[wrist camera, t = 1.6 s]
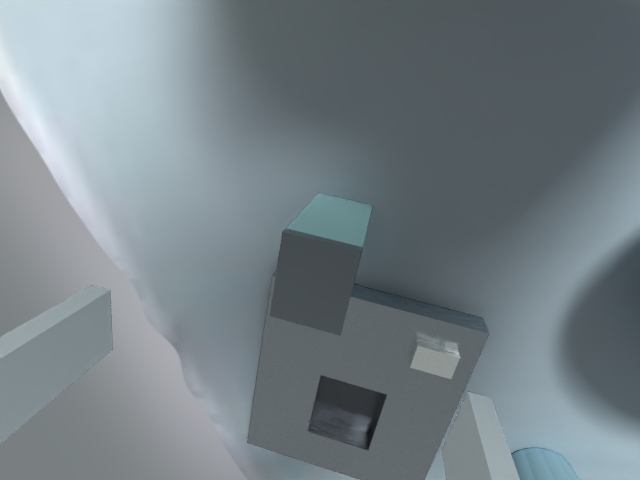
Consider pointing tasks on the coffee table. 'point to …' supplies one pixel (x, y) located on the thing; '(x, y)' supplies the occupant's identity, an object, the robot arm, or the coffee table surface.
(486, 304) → the coffee table surface
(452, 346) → the socket plate
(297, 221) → the plug
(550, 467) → the cup
